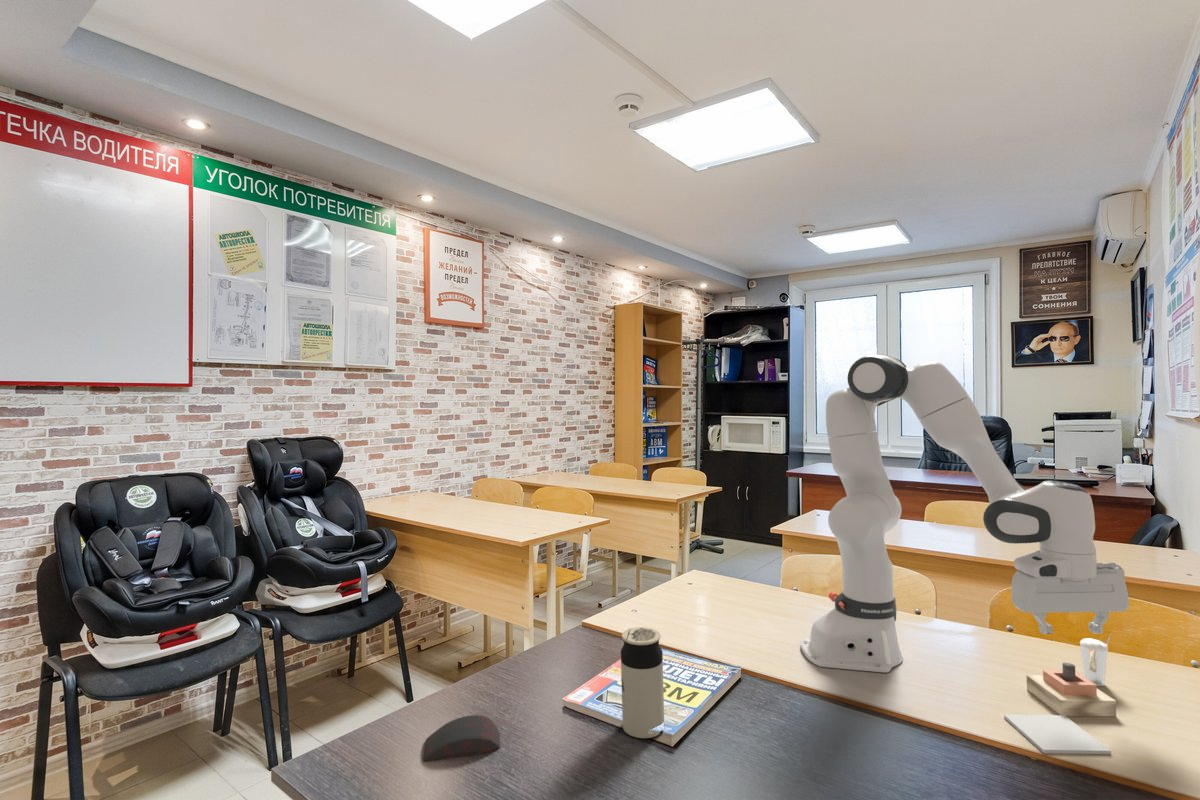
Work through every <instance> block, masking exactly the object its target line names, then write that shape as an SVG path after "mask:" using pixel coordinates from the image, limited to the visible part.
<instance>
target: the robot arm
mask: <svg viewBox="0 0 1200 800" xmlns="http://www.w3.org/2000/svg"><path fill="white" fill-rule="evenodd" d="M847 385H848V386H849V387H847V388H842V389H840V390H837V391H834V392H833V393H832V394H830V395H829V396H828V398H827V400H826V404H825V423H826V424H825V425H826V433H827V439H828V445H829V452H830V458H831V462H832V463H831V464H832V469H833V470H834V472H835V474H837V476H838V478H839V479H840V481H841V484H842V485H843V488H844V490H845V494H846V496H845V497H842V498H841V499H840V500H838V501H837V502H836V503H835V504H834V505H833V507H832V508H831V510H830V511H829V514H828V516H827V517H828V518H827V521H828V527H829V529H830V531H831V534H833V536H834V537H835V538H836V542H837V546H838V549H839V552H840V558H841V569H842V570H841V571H842V591H841V593H839V594H837V593H836V592H835V591H833V590H832V591H829V593H828V594H827V597H828V599H830V600H831V601H832V602H834V608H832V609H831V610H829V611H828V612H826V613H825V614H824V615H822V616H821V617H819V618H818V619H815V621H814V622H813V623H812V626H811V629H810V637H805V638H803V639H802V640H801V641H800V642H801V644H800V649H801V652H802V654H803V655H804V657H806V659H807V660H808V661H810V662H811V663H813V664H814V665H815V666H817V667H820V668H821V667H822V668H831V669H832V668H833V669H842V670H851V671H852V670H853V671H862V672H864V671H865V672H874V673H875V672H876V673H886V674H887V673H889V672H891V671H892V669H893V668H894V667H897V666H898V665H900V664H901V663H903V659H904V658H903V655H902V651H901V649H900V643H899V641H898V640H899V639H898V635H897V629H896V621H897V602H896V601H897V600H896V597H895V596H894V595H895V594H894V566H893V563H892V562H891V560H890V557H889V554H888V551H887V550H888V549H887V547H886V541H885V538H886V533H887V532H890V531H891V530H892V529H894V528H895V527H896V525H897V524H898V522H899V520H900V518H901V516H902V511H903V510H902V503H901V502H900V499H899V498H898V497H897V496H896V495H895V493H894V489H893V487H892V485H891V482H890V479H889V477H888V475H887V472H886V469H885V467H884V462H883V458H882V452H881V447H880V442H879V437H878V435H879V434H878V432H877V426H876V421H875V420H876V419H875V411H876V408H877V407H879V406H882V405H884V404H886V403H888V402H891V401H893V400H895V399H902V400H903V401H905V402H906V403H907V404H908V406H909V407H910V408H911V409H912V410H913V412H914V414H915V415H916V417H917V418H916V419H918V420H919V422H920V424H921V426H922V428H923V429H924V430H925V432H926V433H927V434H928V435H929V436H930V438H931V439H932V440H933V441H934V442H935V443H936V444H937V445H938V446H939V447H941V448H943V449H945V450H948V451H950V452H952V453H954V454H956V456H959V457H960V458H961V459H962V460H963V461H964V462H965V463H966V464H967V465H968V467H969V468H970V470H971V471H972V473H973V475H974V476H975V477H976V479H977V480H978V482H979V483H980V485H981V487H982V488H983V490H984V491H985V493H986V494H987V497H988V503H989V504H988V505H987V507H986V508H985V510H984V512H983V516H982V517H983V518H982V519H983V524H984V527H985V529H986V530H987V532H988V533H989V534H990V535H991V536H992V537H994V539H996V540H998V541H1000V542H1003V543H1007V544H1016V545H1017V544H1033V543H1035V544H1037V543H1039V549H1038V550H1036V551H1034V552H1031V553H1029V554H1025V555H1022V556H1019V557H1016V558H1015V559H1014V560H1013V567H1014V569H1016V570H1017V571H1015V572H1014V574H1013V576H1012V579H1011V590H1010V591H1011V602H1012V604H1013V606H1014V607H1015V608H1016V609H1018V610H1019V611H1020V612H1024V613H1026V614H1027V613H1028V614H1029V613H1030V614H1032V616H1033V617H1034V618H1035V620H1036V622H1037V623H1038V630H1039V632H1040V633H1041V634H1043V635H1053V633H1054V632H1053V625H1052V624H1050V623H1048V622H1047V621H1046V620H1045V618H1047V613H1094V614H1095V615H1094V618H1093V619H1092V621H1089V622H1088V624H1087V625H1088V631H1089V632H1090V633H1092V634H1095V635H1096V634H1097V635H1098V634H1104V633H1103V632H1104V625H1105V623H1106V622H1107V620H1108V619H1109V617H1110V615H1109V614H1110V613H1111V612H1115V613H1116V612H1126V611H1127V609H1128V608H1129V607H1130V600H1129V594H1128V588H1127V583H1126V581H1125V580H1126V579H1125V576H1126V575H1125V570H1124V569H1123V567H1122V566H1120V565H1119V564H1117V563H1115V562H1104V563H1103V562H1097V548H1096V546H1095V542H1094V534H1095V531H1096V520H1095V519H1096V518H1095V509H1094V504H1093V499H1092V497H1091V495H1090V493H1089V492H1088V491H1087V490H1086V489H1085V488H1083V487H1082V486H1080V485H1077V484H1074V483H1069V482H1065V481H1060V480H1044V481H1042V482H1040V483H1039V484H1037V485H1034V486H1033V487H1030V488H1028V489H1027V488H1026V487H1024V485H1022V484H1020V482H1018V480H1016V478H1015V477H1014V476H1013V473H1011V470H1010V469H1009V468H1008V466H1006V463H1005V462H1004V461H1003V460H1002V458H1001V456H1000V455H999V453H998V452H997V450H996V448H995V447H994V445H993V444H992V442H991V439H990V437H989V434H988V431H987V429H986V427H985V425H984V422H983V419H982V417H981V415H980V413H979V410H978V409H977V407H976V404H975V403H974V401H973V400H972V398H971V397H970V395H969V394H968V392H967V390H966V389H965V388H964V387H963V386H962V384H961V383H960V381H959V380H958V379H957V377H955V376H954V375H953V373H952V372H951V371H950V370H949V369H948V368H947V367H946V366H945V365H944V364H942V363H941V362H938V361H926V362H921V363H919V364H917V365H915V366H912V367H911V366H910V367H907V365H906V364H905V363H904V362H903V361H902V360H900V359H898V358H896V357H893V356H891V355H887V354H880V353H879V354H869V355H868V354H867V355H864V356H862V357H860V358H858V359H857V360H856V361H854V363H852V365H851V366H850V368H849V370H848V372H847Z"/></svg>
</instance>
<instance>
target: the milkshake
mask: <svg viewBox="0 0 1200 800" xmlns="http://www.w3.org/2000/svg"><path fill="white" fill-rule="evenodd" d="M1110 640H1111V636H1108V638H1107V640H1106V643H1105V642H1103V641H1101V640H1098V639H1096V638H1095V639H1094V638H1092V637H1091V638H1086V637H1085V638H1082V639H1081V640H1080V641H1079V644H1080V653H1081V659H1082V661H1081V662H1082V669H1083V677H1085V678H1086V679H1088V680H1090V681H1091V682H1093V683H1094V684H1096V685H1097V687H1103V686H1105V684H1106V672H1107V659H1108V653H1109V652H1108V650H1109V646H1108V644H1109V642H1110Z"/></svg>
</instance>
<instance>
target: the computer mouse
mask: <svg viewBox="0 0 1200 800" xmlns="http://www.w3.org/2000/svg"><path fill="white" fill-rule="evenodd" d="M423 747H424V748H423V754H422V755H423V756H422V761H423V762H425V763H426V762H427V763H428V762H432V761H440V760H441V761H443V760H449V759H455V758H462V757H469V756H475V755H483V754H486V753H491V752H493V751H496V750H499V749H501V736H500V730H499V729H498V727H497V725H496V724H495V722H494V721H493V720H491V719H490V718H489V717H488V716H484V715H478V714H477V715H475V714H472V715H465V716H462V717H458V718H456V719H455V718H454V719H453V720H451V721H450V720H449V722H447V723H445V724H444V725H442V726H441V727H439V728H437V730H434V732H433V733H431V734H430V735H429V736H428V737H427V738H426V739H425V743H424V746H423Z"/></svg>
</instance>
